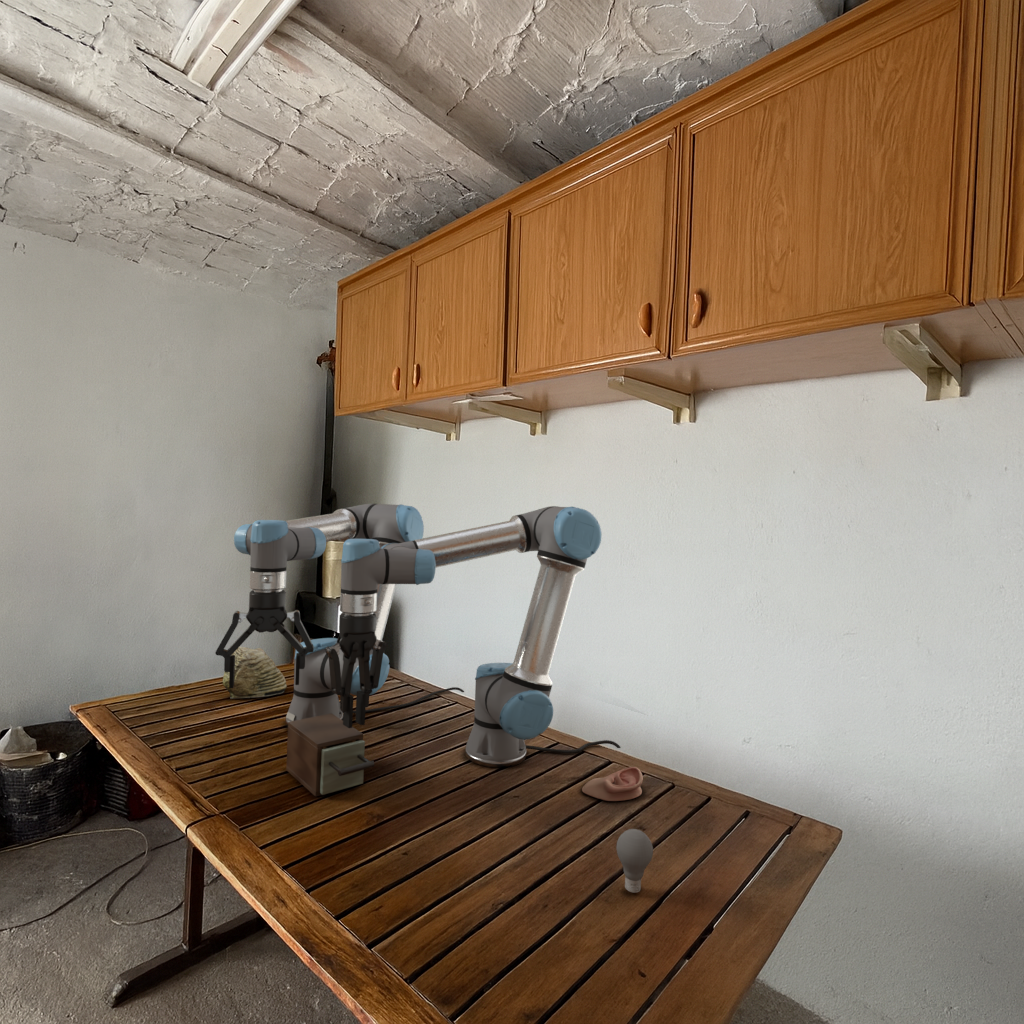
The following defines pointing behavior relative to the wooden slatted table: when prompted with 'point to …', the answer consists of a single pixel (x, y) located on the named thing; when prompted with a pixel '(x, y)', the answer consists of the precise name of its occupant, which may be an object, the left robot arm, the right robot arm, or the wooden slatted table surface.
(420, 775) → the wooden slatted table surface
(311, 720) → the cabinet
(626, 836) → the light bulb
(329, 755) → the drawer
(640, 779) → the anatomical model
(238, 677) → the fossil
